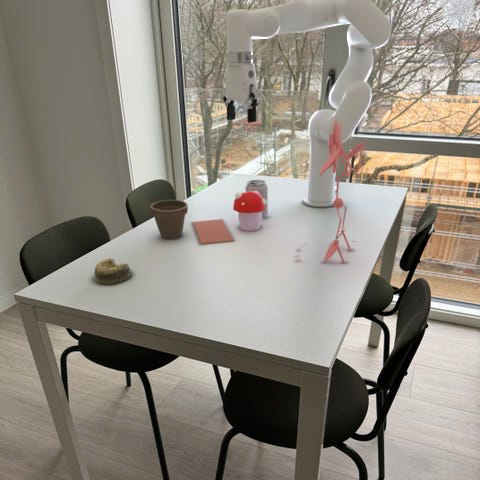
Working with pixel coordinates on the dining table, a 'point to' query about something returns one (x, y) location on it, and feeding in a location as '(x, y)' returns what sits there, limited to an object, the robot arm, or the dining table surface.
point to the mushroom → (249, 209)
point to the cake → (111, 272)
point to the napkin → (212, 231)
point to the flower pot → (169, 217)
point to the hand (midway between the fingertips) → (241, 120)
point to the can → (261, 188)
